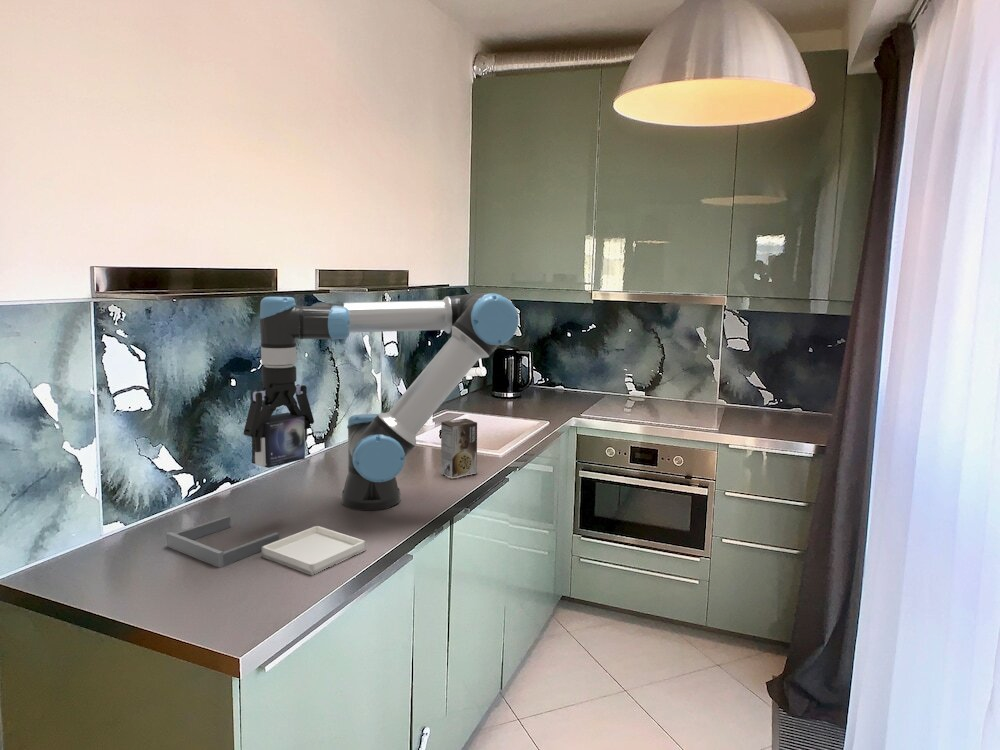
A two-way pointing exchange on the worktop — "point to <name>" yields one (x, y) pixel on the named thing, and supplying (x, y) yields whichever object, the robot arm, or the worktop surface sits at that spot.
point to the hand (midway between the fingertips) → (281, 460)
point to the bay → (186, 545)
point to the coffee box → (458, 447)
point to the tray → (313, 549)
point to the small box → (283, 439)
